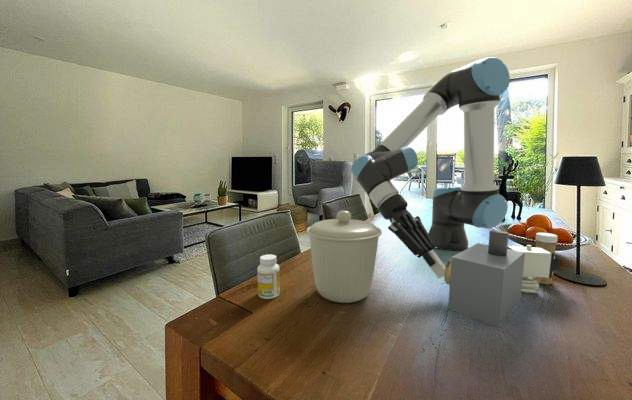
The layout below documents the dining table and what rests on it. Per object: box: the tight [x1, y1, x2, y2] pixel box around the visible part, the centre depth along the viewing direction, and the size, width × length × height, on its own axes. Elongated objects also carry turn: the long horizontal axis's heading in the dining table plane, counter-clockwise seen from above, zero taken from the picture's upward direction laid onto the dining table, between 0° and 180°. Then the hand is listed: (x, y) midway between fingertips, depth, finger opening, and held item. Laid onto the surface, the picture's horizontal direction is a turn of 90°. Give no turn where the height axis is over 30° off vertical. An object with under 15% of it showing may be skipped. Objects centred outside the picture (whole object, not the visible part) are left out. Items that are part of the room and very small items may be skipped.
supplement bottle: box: [256, 254, 281, 300], centre depth 70 cm, size 5×5×10 cm
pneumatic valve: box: [507, 244, 560, 294], centre depth 73 cm, size 6×12×12 cm, turn 78°
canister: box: [306, 210, 383, 304], centre depth 70 cm, size 18×18×21 cm
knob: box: [443, 258, 451, 286], centre depth 66 cm, size 9×6×6 cm
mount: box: [447, 243, 525, 328], centre depth 65 cm, size 10×16×12 cm, turn 132°
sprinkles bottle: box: [532, 232, 558, 285], centre depth 78 cm, size 5×5×14 cm
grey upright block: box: [487, 229, 509, 256], centre depth 65 cm, size 4×4×5 cm
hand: (444, 275), depth 70 cm, fingers closed
